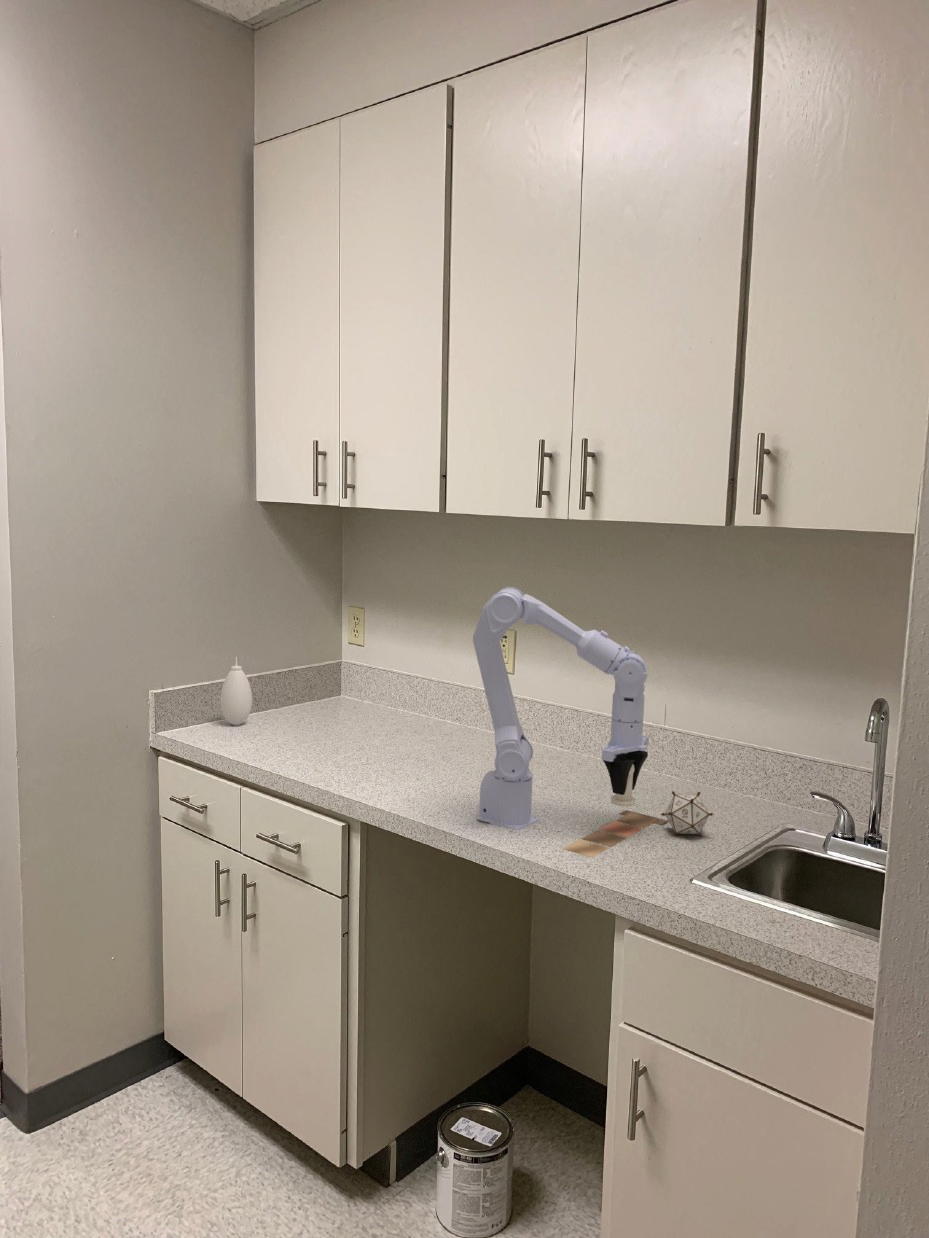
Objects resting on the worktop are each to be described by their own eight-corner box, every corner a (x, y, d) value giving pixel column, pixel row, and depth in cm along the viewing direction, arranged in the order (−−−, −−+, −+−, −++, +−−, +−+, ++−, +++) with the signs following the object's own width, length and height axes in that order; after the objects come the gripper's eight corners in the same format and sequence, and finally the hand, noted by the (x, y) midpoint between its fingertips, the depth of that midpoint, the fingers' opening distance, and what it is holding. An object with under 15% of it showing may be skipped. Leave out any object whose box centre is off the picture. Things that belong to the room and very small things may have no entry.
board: (551, 850, 164) (551, 847, 164) (626, 811, 186) (626, 809, 186) (597, 863, 159) (597, 861, 159) (668, 822, 181) (668, 820, 181)
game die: (688, 851, 176) (714, 805, 178) (701, 851, 168) (728, 803, 170) (647, 824, 177) (673, 779, 179) (658, 823, 169) (685, 776, 171)
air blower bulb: (240, 729, 240) (240, 659, 237) (214, 726, 242) (214, 657, 240) (257, 723, 247) (257, 655, 244) (232, 719, 250) (232, 652, 247)
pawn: (606, 802, 174) (609, 759, 173) (618, 797, 177) (620, 754, 176) (628, 807, 171) (630, 763, 170) (639, 802, 175) (641, 759, 174)
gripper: (628, 730, 164) (624, 805, 166) (664, 716, 176) (660, 786, 177) (592, 723, 168) (589, 796, 170) (630, 710, 180) (627, 779, 182)
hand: (623, 791), depth 174 cm, fingers closed on pawn, 3 cm apart
